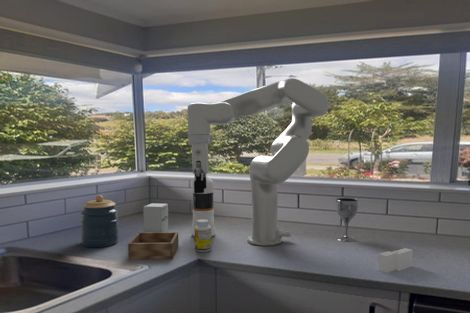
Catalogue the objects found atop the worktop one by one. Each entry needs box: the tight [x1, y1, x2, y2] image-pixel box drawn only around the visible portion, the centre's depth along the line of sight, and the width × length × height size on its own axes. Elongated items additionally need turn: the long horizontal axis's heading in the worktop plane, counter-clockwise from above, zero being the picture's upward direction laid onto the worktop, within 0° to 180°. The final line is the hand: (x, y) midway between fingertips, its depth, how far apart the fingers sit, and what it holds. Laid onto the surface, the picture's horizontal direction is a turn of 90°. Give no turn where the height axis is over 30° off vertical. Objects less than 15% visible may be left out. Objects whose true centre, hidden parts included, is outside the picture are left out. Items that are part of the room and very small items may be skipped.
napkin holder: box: [378, 247, 413, 274], centre depth 111 cm, size 15×11×6 cm
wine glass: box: [335, 197, 359, 243], centre depth 142 cm, size 8×8×15 cm
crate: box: [127, 231, 179, 260], centre depth 127 cm, size 14×14×5 cm
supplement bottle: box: [194, 219, 212, 253], centre depth 129 cm, size 6×6×10 cm
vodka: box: [191, 175, 216, 238], centre depth 148 cm, size 9×9×30 cm
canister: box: [80, 194, 120, 248], centre depth 138 cm, size 13×13×18 cm
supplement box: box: [142, 202, 169, 232], centre depth 146 cm, size 7×7×13 cm
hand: (200, 190), depth 129 cm, fingers open, 9 cm apart
